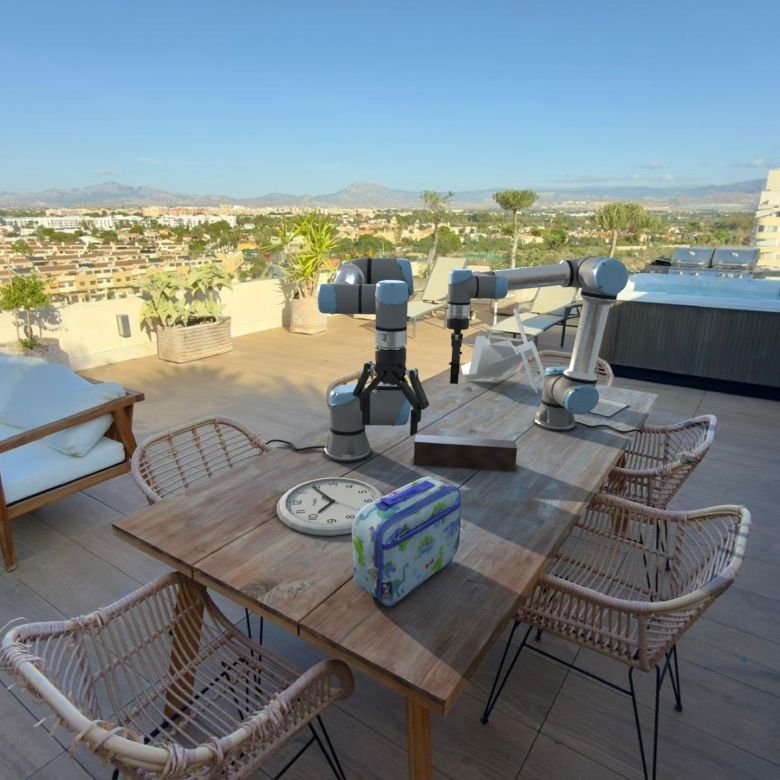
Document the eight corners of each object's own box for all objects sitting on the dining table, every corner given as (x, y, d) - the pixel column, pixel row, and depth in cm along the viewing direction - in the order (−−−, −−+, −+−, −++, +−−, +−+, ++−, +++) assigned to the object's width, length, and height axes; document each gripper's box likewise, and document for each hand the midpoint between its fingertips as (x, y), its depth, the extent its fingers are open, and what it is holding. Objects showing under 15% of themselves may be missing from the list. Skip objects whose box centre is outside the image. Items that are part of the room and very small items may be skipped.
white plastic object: (482, 422, 260) (461, 399, 236) (463, 348, 283) (442, 320, 258) (555, 398, 248) (541, 371, 224) (529, 323, 270) (514, 291, 246)
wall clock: (392, 527, 129) (268, 531, 127) (391, 533, 130) (269, 537, 127) (383, 473, 158) (282, 475, 155) (383, 478, 158) (282, 480, 156)
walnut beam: (512, 463, 170) (515, 440, 168) (514, 471, 165) (517, 448, 162) (415, 456, 174) (415, 434, 171) (413, 464, 168) (414, 441, 166)
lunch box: (381, 619, 101) (382, 525, 95) (345, 592, 109) (344, 503, 102) (464, 563, 119) (469, 480, 113) (428, 543, 126) (432, 464, 120)
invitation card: (608, 416, 214) (573, 407, 224) (608, 416, 214) (573, 408, 224) (628, 404, 229) (594, 396, 238) (628, 405, 229) (594, 397, 238)
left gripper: (338, 343, 128) (339, 423, 134) (432, 356, 117) (428, 443, 123) (354, 337, 134) (355, 414, 141) (445, 349, 123) (440, 433, 130)
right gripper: (448, 310, 186) (445, 368, 192) (444, 322, 162) (441, 387, 169) (469, 311, 185) (466, 369, 191) (469, 323, 161) (465, 389, 168)
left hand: (389, 428), depth 132 cm, fingers open, 13 cm apart
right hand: (454, 378), depth 180 cm, fingers open, 13 cm apart
